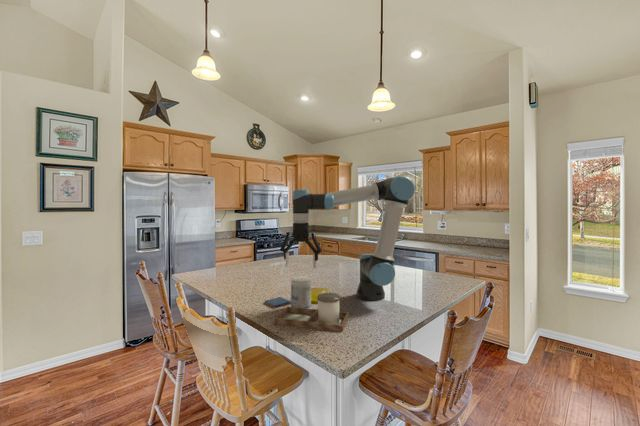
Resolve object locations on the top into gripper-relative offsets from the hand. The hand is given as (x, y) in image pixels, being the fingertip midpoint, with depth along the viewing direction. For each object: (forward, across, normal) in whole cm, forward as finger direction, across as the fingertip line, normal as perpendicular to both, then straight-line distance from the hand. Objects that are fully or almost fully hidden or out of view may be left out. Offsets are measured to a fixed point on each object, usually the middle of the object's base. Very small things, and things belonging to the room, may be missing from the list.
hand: (300, 266), depth 143 cm
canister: (+19, -17, +14) cm, 29 cm away
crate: (+20, -10, +14) cm, 27 cm away
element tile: (+21, -1, -15) cm, 26 cm away
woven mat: (+21, +14, -4) cm, 25 cm away
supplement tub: (+20, 0, 0) cm, 21 cm away
